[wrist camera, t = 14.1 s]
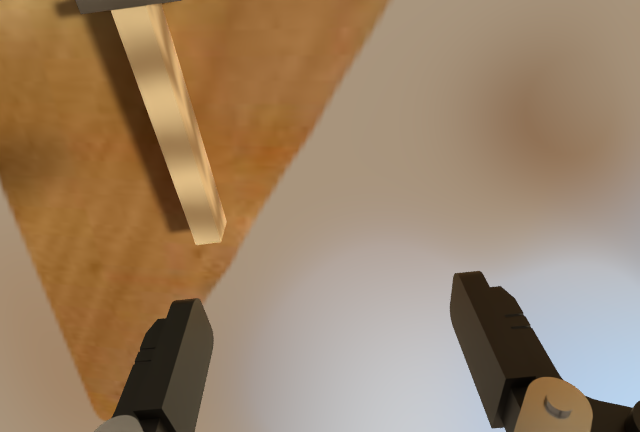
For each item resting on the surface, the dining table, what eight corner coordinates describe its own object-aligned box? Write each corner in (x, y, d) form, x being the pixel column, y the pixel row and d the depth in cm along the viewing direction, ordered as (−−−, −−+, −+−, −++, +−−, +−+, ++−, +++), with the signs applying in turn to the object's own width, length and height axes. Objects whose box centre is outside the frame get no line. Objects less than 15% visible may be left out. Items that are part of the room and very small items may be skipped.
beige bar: (93, -6, 29) (70, -2, 26) (187, -20, 29) (174, -17, 26) (181, 226, 41) (172, 247, 38) (249, 218, 41) (244, 239, 38)
